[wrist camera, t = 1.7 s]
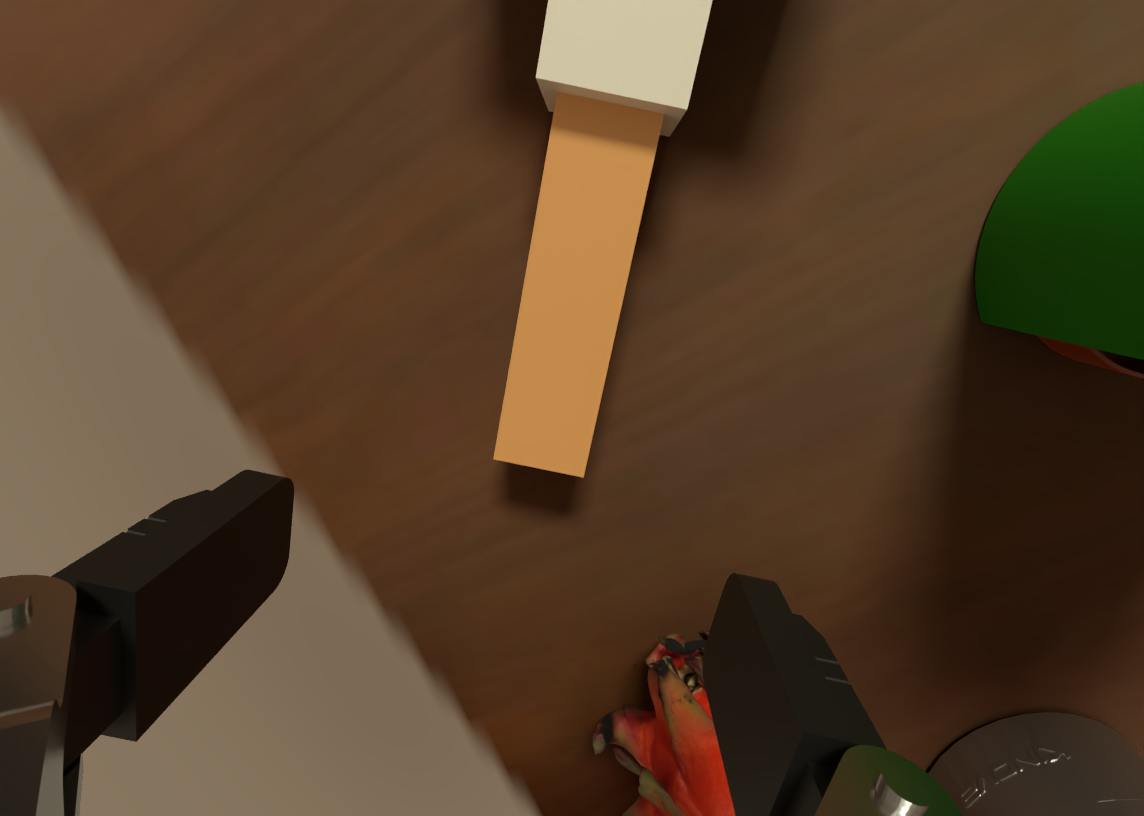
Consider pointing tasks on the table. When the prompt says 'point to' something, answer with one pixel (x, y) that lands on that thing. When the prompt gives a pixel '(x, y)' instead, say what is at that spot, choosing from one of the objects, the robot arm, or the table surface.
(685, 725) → the dragon fruit
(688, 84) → the plug
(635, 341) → the table surface
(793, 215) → the table surface
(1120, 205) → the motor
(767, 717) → the robot arm
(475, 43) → the table surface
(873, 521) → the table surface
